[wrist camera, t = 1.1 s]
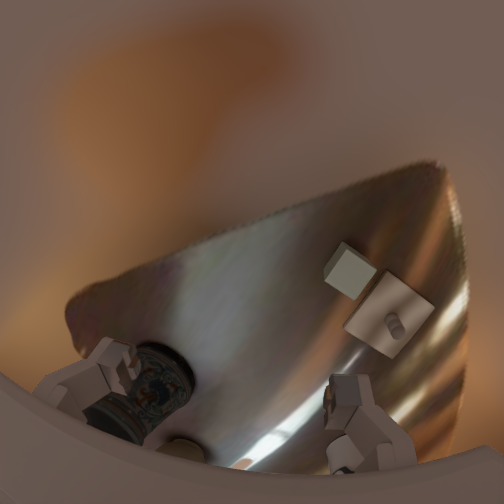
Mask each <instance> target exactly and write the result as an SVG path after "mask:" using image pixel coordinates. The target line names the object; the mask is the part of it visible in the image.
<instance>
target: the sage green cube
mask: <svg viewBox="0 0 504 504" xmlns="http://www.w3.org/2000/svg"><path fill="white" fill-rule="evenodd" d="M376 271H377V270H376V268H375V267H374V266H373V264H372V263H371V262H370V260H369V259H367V258H366V257H365V256H363V255H362V254H360V253H359V252H357V251H356V250H355V249H353V248H352V247H350V246H349V245H347V244H346V243H344V242H343V241H342V242H341V244H340V245H339V247H338V248H337V250H336V251H335V253H334V254H333V256H332V257H331V259H330V260H329V261H328V263H327V264H326V266H325V267H324V269H323V272H324V281H325V282H327V283H328V284H330V285H331V286H333V287H334V288H336V289H337V290H339V291H341V292H342V293H344V294H345V295H347V296H348V297H350V298H351V299H353V300H354V301H355V300H356V298H357V297H358V296H359V294H360V293H361V292H362V290H363V289H364V288H365V286H366V285H367V284H368V282H369V281H370V279H371V278H372V277H373V275H374V274H375V272H376Z"/></svg>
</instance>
